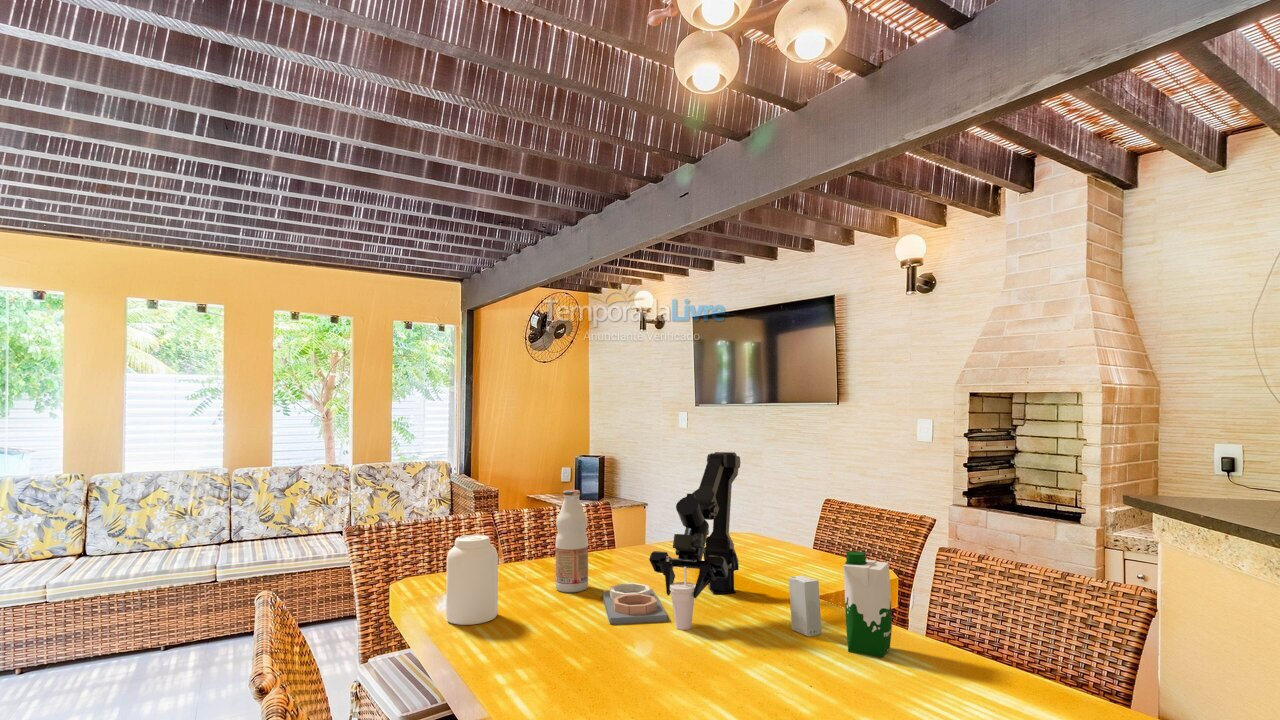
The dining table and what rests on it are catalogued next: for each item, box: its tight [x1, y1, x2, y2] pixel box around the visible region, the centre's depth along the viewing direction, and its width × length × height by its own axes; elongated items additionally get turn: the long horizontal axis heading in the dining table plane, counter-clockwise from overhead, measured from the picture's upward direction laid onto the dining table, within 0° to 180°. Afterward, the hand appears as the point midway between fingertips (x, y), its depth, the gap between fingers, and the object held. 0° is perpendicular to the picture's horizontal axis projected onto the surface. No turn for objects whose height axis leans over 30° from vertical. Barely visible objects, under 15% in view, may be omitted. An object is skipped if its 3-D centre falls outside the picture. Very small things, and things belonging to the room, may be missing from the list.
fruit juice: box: [555, 489, 589, 593], centre depth 193 cm, size 9×9×28 cm
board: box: [601, 582, 668, 625], centre depth 173 cm, size 14×24×4 cm, turn 8°
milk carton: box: [842, 550, 893, 659], centre depth 142 cm, size 9×9×20 cm
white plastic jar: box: [445, 534, 499, 626], centre depth 167 cm, size 12×12×20 cm
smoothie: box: [670, 567, 696, 631], centre depth 158 cm, size 6×6×14 cm
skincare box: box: [788, 575, 823, 637], centre depth 153 cm, size 6×4×12 cm
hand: (681, 595), depth 156 cm, fingers closed on smoothie, 6 cm apart
